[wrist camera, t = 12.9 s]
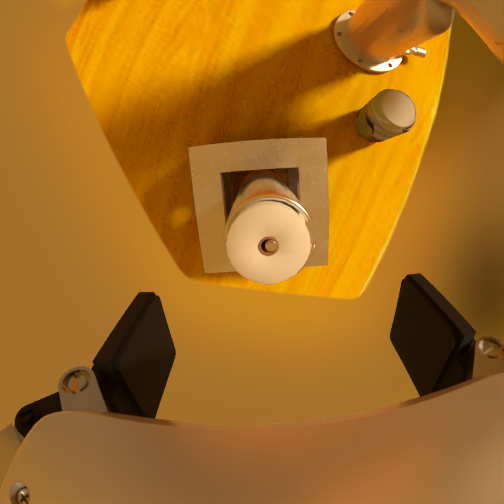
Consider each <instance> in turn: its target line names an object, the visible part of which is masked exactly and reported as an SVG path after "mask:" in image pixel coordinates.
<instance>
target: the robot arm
mask: <svg viewBox="0 0 504 504" xmlns="http://www.w3.org/2000/svg"><path fill="white" fill-rule="evenodd" d="M454 10H455V11H456V12H457V13H458V14H460V15H461V17H462V18H464V19H465V20H466V21H467V22H468V23H469V24H470V25H471V27H472V28H473V29H474V30H475V31H476V32H477V34H478V35H479V36H480V37H481V38H482V40H483V41H484V42H485V43H486V45H487V46H488V47H489V48H490V50H491V51H492V52H493V53H494V55H495V56H496V57H497V59H498V60H499V61H500V62H501V63H502V65H504V0H365V1H364V2H363V3H362V4H361V5H360V6H359V8H358V9H357V10H349V11H346V12H344V13H343V14H341V15H340V16H339V17H338V19H337V20H336V22H335V24H334V28H333V34H334V39H335V42H336V44H337V46H338V48H339V49H340V51H341V52H342V53H343V55H344V56H345V57H346V58H347V59H348V60H350V61H351V62H352V63H354V64H355V65H357V66H359V67H360V68H362V69H365V70H367V71H371V72H378V73H382V72H388V71H390V70H392V69H394V68H396V67H397V66H398V65H399V64H400V62H401V61H402V58H403V55H410V54H413V55H415V56H419V57H425V55H426V51H425V49H424V48H422V47H418V45H420V44H422V43H424V42H426V41H428V40H430V39H432V38H434V37H436V36H438V35H440V34H442V33H444V32H445V31H447V30H448V29H449V28H450V26H451V24H452V22H453V18H454ZM338 35H339V36H338ZM358 61H359V62H360V63H359V62H358ZM475 334H476V331H475V330H474V329H473V328H472V327H471V325H470V324H469V323H468V322H467V321H466V320H465V319H464V318H463V316H462V315H461V314H460V313H459V312H458V311H457V310H456V309H455V308H454V307H453V306H452V305H451V304H450V303H449V302H448V300H446V298H445V297H444V296H443V295H442V294H441V293H440V292H439V291H438V290H437V289H436V288H435V287H434V286H433V285H432V284H431V283H430V282H429V281H428V280H427V279H426V278H425V277H424V276H423V275H421V274H419V273H418V274H409V275H407V276H406V277H405V279H403V280H402V282H401V288H400V293H399V298H398V303H397V308H396V312H395V316H394V320H393V324H392V328H391V332H390V339H391V342H392V344H393V346H394V347H395V349H396V351H397V353H398V355H399V357H400V359H401V360H402V362H403V364H404V366H405V368H406V370H407V372H408V374H409V376H410V377H411V379H412V381H413V383H414V385H415V387H416V389H417V391H418V393H419V395H420V397H418V398H415V399H412V400H408V401H405V402H401V403H397V404H393V405H389V406H385V407H381V408H377V409H372V410H368V411H362V412H358V413H352V414H346V415H341V416H335V417H328V418H320V419H312V420H303V421H293V422H280V423H258V424H215V423H196V422H182V421H172V420H162V419H155V417H156V414H157V410H158V407H159V404H160V401H161V398H162V395H163V392H164V389H165V386H166V383H167V380H168V377H169V373H170V371H171V368H172V365H173V362H174V359H175V355H176V353H175V352H176V351H175V347H174V344H173V341H172V337H171V334H170V331H169V328H168V324H167V321H166V318H165V314H164V311H163V307H162V303H161V300H160V297H159V296H156V295H155V293H154V292H140V293H138V295H137V296H136V297H135V299H134V300H133V302H132V303H131V304H130V306H129V307H128V309H127V310H126V311H125V313H124V314H123V316H122V317H121V319H120V320H119V322H118V323H117V325H116V326H115V328H114V329H113V331H112V332H111V334H110V335H109V337H108V338H107V340H106V341H105V343H104V345H103V346H102V348H101V349H100V351H99V352H98V354H97V355H96V357H95V358H94V360H93V364H94V365H93V367H92V369H90V368H88V367H84V366H80V367H75V368H72V369H70V370H68V371H67V372H66V373H64V374H63V376H62V377H61V378H60V381H59V384H58V389H59V392H57V393H55V394H52V395H50V396H47V397H45V398H43V399H40V400H38V401H35V402H33V403H31V404H28V405H26V406H24V407H23V408H21V410H20V411H19V412H18V413H17V415H16V418H15V426H13V425H12V424H10V425H9V426H7V427H6V428H5V429H4V430H2V431H1V432H0V504H504V343H503V342H502V341H501V340H500V339H498V338H496V337H494V336H490V335H483V336H481V337H479V338H478V339H477V340H476V341H475V340H474V336H475Z"/></svg>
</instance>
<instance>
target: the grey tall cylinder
mask: <svg viewBox="0 0 504 504" xmlns="http://www.w3.org/2000/svg"><path fill="white" fill-rule="evenodd" d="M305 220H306V221H307V222H309V221H311V220H312V218H311V216H310V215H309V213H308V212H307V210H306V209H305V208H304V206H303V205H302V204H301V203H300V201H299V200H298V199H297V198H296V197H295V195H294V194H293V193H292V192H291V190H290V189H289V188H288V187H287V186H286V185H285V183H284V182H283V181H282V180H281V179H280V177H279V176H278V175H277V174H275V173H274V172H272V171H270V170H267V169H258V170H254V171H252V172H250V173H249V174H247V176H246V177H245V178H244V180H243V182H242V184H241V187H240V189H239V191H238V194H237V197H236V199H235V202H234V204H233V207H232V209H231V212H230V214H229V217H228V219H227V222H226V225H225V228H224V235H223V239H227V240H226V250H227V256H228V258H229V261H230V262H231V264H232V266H233V267H234V268H235V270H236V271H237V272H238V273H239V274H240V275H242V276H243V277H245V278H246V279H249V280H251V281H254V282H257V283H263V284H274V283H279V282H281V281H284V280H287V279H288V278H291V277H292V276H294V275H295V274H297V273H299V272H300V271H301V270H302V269H303V268H304V267H305V266H306V265H307V264H308V262H309V260H310V259H311V257H312V255H313V253H314V249H315V245H316V241H315V240H314V238H313V236H312V235H311V233H310V232H309V230H308V228H307V227H306V225H305Z"/></svg>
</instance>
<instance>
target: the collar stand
mask: <svg viewBox="0 0 504 504" xmlns="http://www.w3.org/2000/svg"><path fill="white" fill-rule="evenodd" d="M188 150H189V160H190V170H191V178H192V187H193V195H194V203H195V211H196V218H197V226H198V233H199V240H200V247H201V253H202V260H203V266H204V272H205V273H219V272H235V271H236V270H235V268H234V267H233V266H232V264H231V262H230V261H229V258H228V256H227V250H226V240H227V239H223V235H224V228H225V225H226V222H227V219H228V217H229V214H230V212H231V209H232V207H233V204H234V202H233V192H232V181H231V172H233V171H245V170H258V169H274V168H287V180H288V188H289V189H290V190H291V192H292V193H293V194H294V195H295V197H296V198H297V199H298V200H299V201H300V203H301V204H302V205H303V206H304V208H305V209H306V210H307V212H308V213H309V215H310V216H311V218H312V220H311V221H309V222H307V221H306V220H305V225H306V227H307V228H308V230H309V232H310V233H311V235H312V236H313V238H314V240H315V241H316V245H315V249H314V253H313V255H312V257H311V259H310V260H309V262H308V264H307V265H306V266H305V267H307V266H320V265H328V240H329V196H328V162H327V143H326V138H282V139H263V140H249V141H237V142H227V143H218V144H209V145H201V146H194V147H188Z"/></svg>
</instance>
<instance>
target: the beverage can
mask: <svg viewBox="0 0 504 504" xmlns="http://www.w3.org/2000/svg"><path fill="white" fill-rule="evenodd" d="M415 120H416V107H415V105H414V103H413V101H412V100H411V98H410V97H409V96H408V95H406V94H405V93H403V92H401V91H398V90H394V89H386V90H383V91H381V92H379V93H378V94H377V95H376V96H375V97H374V98H373V99H372V100H370V101H369V102H368V103H367V104H366V105H365V106H364V107H363V108H362V109H361V110H360V111H359V112H358V113H357V116H356V126H357V129H358V131H359V133H360V134H361V135H362V136H363V137H364V138H365V139H367V140H369V141H371V142H381V141H384V140H387V139H389V138H392V137H395V136H397V135H400V134H403V133H405V132H408V131H409V130H410V129H411V128H412V127H413V125H414V123H415Z"/></svg>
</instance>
